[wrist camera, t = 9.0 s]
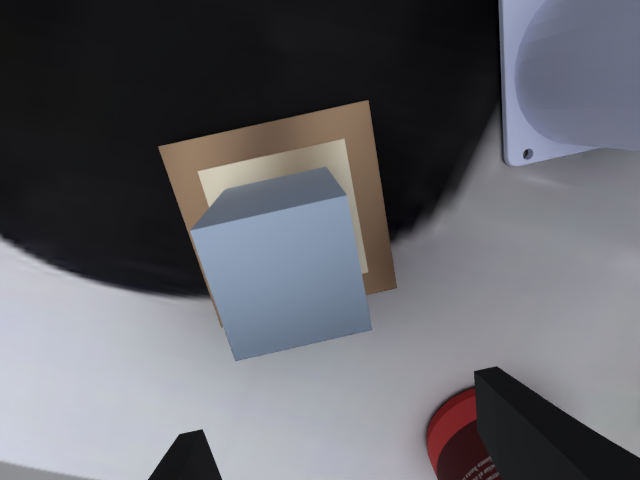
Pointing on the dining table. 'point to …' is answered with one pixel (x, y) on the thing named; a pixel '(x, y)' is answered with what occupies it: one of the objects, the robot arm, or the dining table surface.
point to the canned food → (459, 442)
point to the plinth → (289, 158)
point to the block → (283, 263)
